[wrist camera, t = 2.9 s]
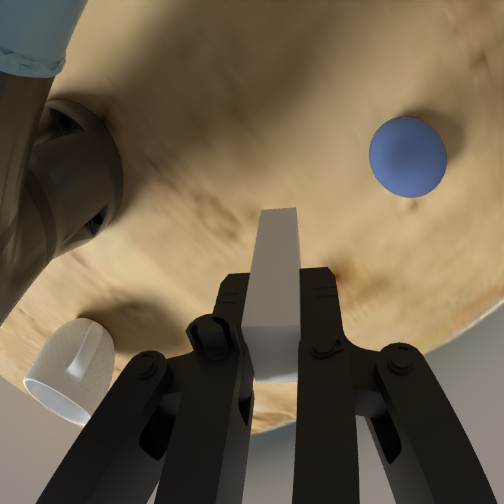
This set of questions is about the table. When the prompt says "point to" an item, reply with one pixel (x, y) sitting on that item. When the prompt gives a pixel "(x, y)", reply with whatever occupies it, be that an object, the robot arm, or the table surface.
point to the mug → (73, 370)
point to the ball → (407, 157)
